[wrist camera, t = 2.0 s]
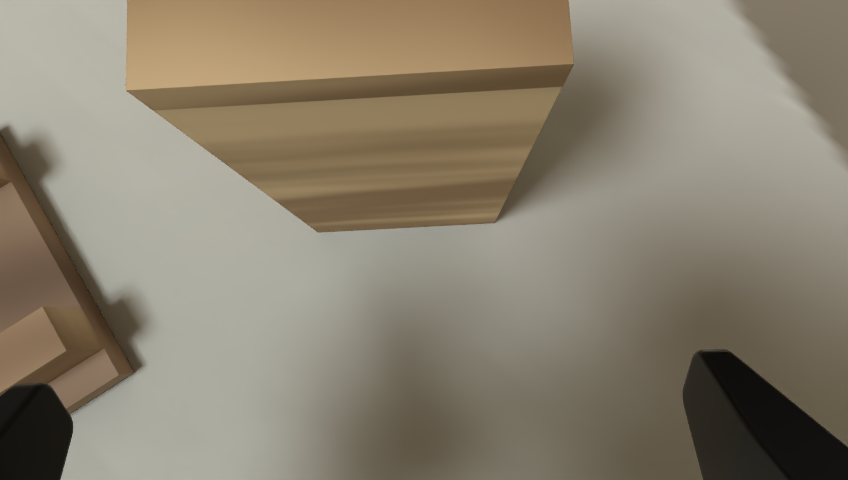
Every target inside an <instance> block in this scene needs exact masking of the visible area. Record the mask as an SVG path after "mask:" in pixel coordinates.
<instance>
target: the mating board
mask: <svg viewBox="0 0 848 480" xmlns="http://www.w3.org/2000/svg"><path fill="white" fill-rule="evenodd" d="M133 373H134V371H133V370H132V368H131V366H130V364H129V362H128V361H127V359H126V357H125V355H124V353H123V352H122V350H121V348H120V346H119V345H118V343H117V341H116V339H115V337H114V336H113V334H112V332H111V330H110V329H109V327H108V325H107V323H106V321H105V320H104V318H103V316H102V314H101V312H100V311H99V309H98V307H97V305H96V304H95V302H94V300H93V298H92V296H91V295H90V293H89V291H88V289H87V288H86V286H85V284H84V282H83V280H82V279H81V277H80V275H79V273H78V271H77V270H76V268H75V266H74V264H73V263H72V261H71V259H70V257H69V255H68V254H67V252H66V250H65V248H64V247H63V245H62V243H61V241H60V239H59V238H58V236H57V234H56V232H55V230H54V229H53V227H52V225H51V223H50V222H49V220H48V218H47V216H46V214H45V213H44V211H43V209H42V207H41V206H40V204H39V202H38V200H37V198H36V197H35V195H34V193H33V191H32V189H31V188H30V186H29V184H28V182H27V181H26V179H25V177H24V175H23V173H22V172H21V170H20V168H19V166H18V165H17V163H16V161H15V159H14V157H13V156H12V154H11V152H10V150H9V148H8V147H7V145H6V143H5V141H4V140H3V138H2V136H1V134H0V395H2V394H3V393H4V392H5V391H7V390H8V389H9V388H11V387H12V386H14V385H17V384H22V383H40V382H43V383H47V384H49V385H50V386H51V387H52V388H53V389H54V391H55V392H56V394H57V395H58V397H59V398H60V400H61V402H62V403H63V405H64V406H65V408H66V409H67V411H68V412H69V414H70V413H72V412H73V411H75V410H77V409H78V408H80V407H81V406H83V405H84V404H86V403H88V402H89V401H91V400H92V399H94V398H95V397H97V396H99V395H100V394H102V393H103V392H105V391H106V390H108V389H109V388H111V387H113V386H114V385H116V384H117V383H119V382H120V381H122V380H124V379H125V378H127V377H128V376H130V375H131V374H133Z"/></svg>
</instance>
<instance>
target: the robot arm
mask: <svg viewBox="0 0 848 480" xmlns="http://www.w3.org/2000/svg"><path fill="white" fill-rule="evenodd" d="M683 403H684V408H685V412H686V415H687V419H688V423H689V427H690V431H691V435H692V438H693V442H694V446H695V450H696V454H697V458H698V461H699V465H700V469H701V473H702V477H703V480H848V447H847V446H846V445H845V444H843V443H842V442H841V441H840V440H838V439H837V438H836V437H835V436H834V435H832V434H831V433H830V432H829V431H827V430H826V429H825V428H824V427H823V426H821V425H820V424H819V423H818V422H816V421H815V420H814V419H813V418H811V417H810V416H809V415H808V414H807V413H805V412H804V411H803V410H802V409H800V408H799V407H798V406H797V405H796V404H794V403H793V402H792V401H791V400H789V399H788V398H787V397H786V396H784V395H783V394H782V393H781V392H780V391H778V390H777V389H776V388H775V387H773V386H772V385H771V384H770V383H769V382H767V381H766V380H765V379H764V378H762V377H761V376H760V375H759V374H758V373H756V372H755V371H754V370H753V369H751V368H750V367H749V366H748V365H746V364H745V363H744V362H743V361H742V360H740V359H739V358H738V357H737V356H735V355H734V354H733V353H731V352H730V351H728V350H725V349H713V350H699V351H697V352H696V353H695V354H694V355H693V358H692V360H691V364H690V367H689V370H688V374H687V377H686V380H685V384H684V387H683ZM72 434H73V421H72V418H71V416H70V414H69V412H68V411H67V409H66V408H65V406H64V405H63V403H62V402H61V400H60V398H59V397H58V395H57V394H56V392H55V391H54V389H53V388H52V387H51V386H50V385H49V384H47V383H43V382H40V383H22V384H17V385H14V386H12V387H11V388H9V389H8V390H7V391H5V392H4V393H3V394H2V395H0V480H60V479H61V475H62V472H63V468H64V464H65V461H66V457H67V453H68V449H69V446H70V442H71V438H72Z"/></svg>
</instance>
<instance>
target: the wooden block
mask: <svg viewBox="0 0 848 480" xmlns="http://www.w3.org/2000/svg"><path fill="white" fill-rule="evenodd" d="M573 65H574V60H573V48H572V36H571V25H570V13H569V1H568V0H127V54H126V91H127V92H129V93H130V94H131V95H133V96H134V97H136V98H137V99H138V100H140V101H141V102H142V103H144V104H145V105H146V106H148V107H149V108H150V109H152V110H153V111H154V112H156V113H157V114H159V115H160V116H161V117H163V118H164V119H165V120H167V121H168V122H169V123H171V124H172V125H173V126H175V127H176V128H177V129H179V130H180V131H182V132H183V133H184V134H186V135H187V136H188V137H190V138H191V139H192V140H194V141H195V142H196V143H198V144H199V145H200V146H202V147H203V148H205V149H206V150H207V151H209V152H210V153H211V154H213V155H214V156H215V157H217V158H218V159H219V160H221V161H222V162H224V163H225V164H226V165H228V166H229V167H230V168H232V169H233V170H234V171H236V172H237V173H238V174H240V175H241V176H242V177H244V178H245V179H247V180H248V181H249V182H251V183H252V184H253V185H255V186H256V187H257V188H259V189H260V190H261V191H263V192H264V193H265V194H267V195H268V196H270V197H271V198H272V199H274V200H275V201H276V202H278V203H279V204H280V205H282V206H283V207H284V208H286V209H287V210H288V211H290V212H291V213H293V214H294V215H295V216H297V217H298V218H299V219H301V220H302V221H303V222H305V223H306V224H307V225H309V226H310V227H311V228H313V229H314V230H316V231H317V232H335V231H353V230H372V229H391V228H410V227H428V226H447V225H466V224H485V223H495V221H496V219H497V217H498V215H499V213H500V211H501V209H502V207H503V205H504V203H505V201H506V199H507V197H508V195H509V193H510V191H511V189H512V187H513V185H514V183H515V181H516V179H517V177H518V175H519V173H520V171H521V169H522V167H523V165H524V163H525V161H526V159H527V157H528V155H529V153H530V151H531V149H532V147H533V145H534V143H535V141H536V139H537V137H538V135H539V133H540V131H541V129H542V127H543V125H544V123H545V121H546V119H547V117H548V115H549V113H550V111H551V109H552V107H553V105H554V103H555V101H556V99H557V97H558V95H559V93H560V91H561V89H562V87H563V85H564V83H565V81H566V79H567V77H568V75H569V73H570V71H571V69H572V67H573Z"/></svg>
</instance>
